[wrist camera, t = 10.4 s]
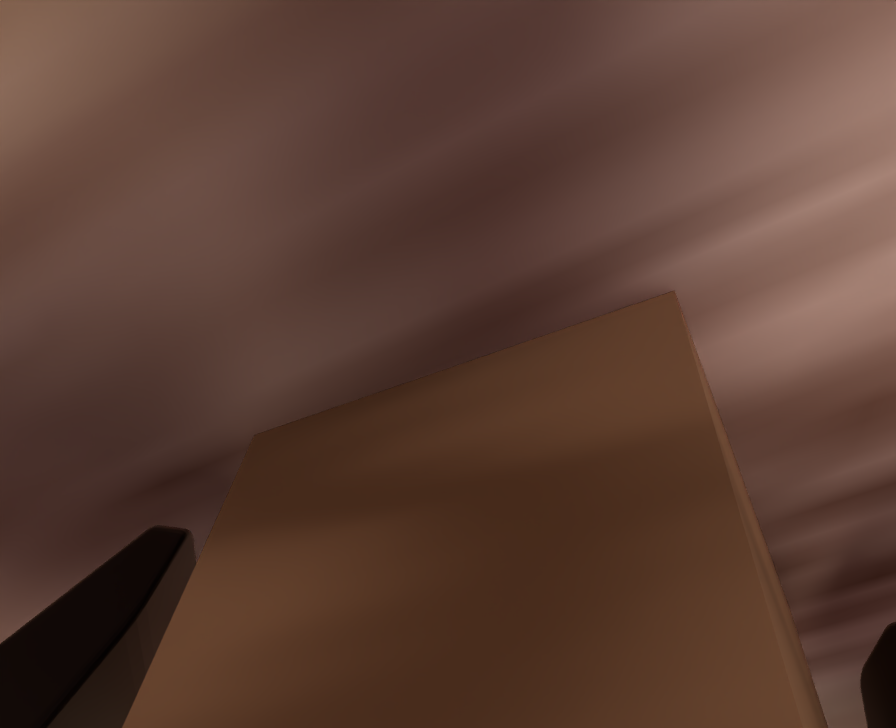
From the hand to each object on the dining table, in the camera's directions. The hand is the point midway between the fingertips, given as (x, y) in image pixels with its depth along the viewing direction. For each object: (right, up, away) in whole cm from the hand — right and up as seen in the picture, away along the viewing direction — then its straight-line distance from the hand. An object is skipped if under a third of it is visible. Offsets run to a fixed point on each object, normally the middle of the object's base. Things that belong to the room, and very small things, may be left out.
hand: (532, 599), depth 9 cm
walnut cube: (0, +1, +1) cm, 1 cm away
